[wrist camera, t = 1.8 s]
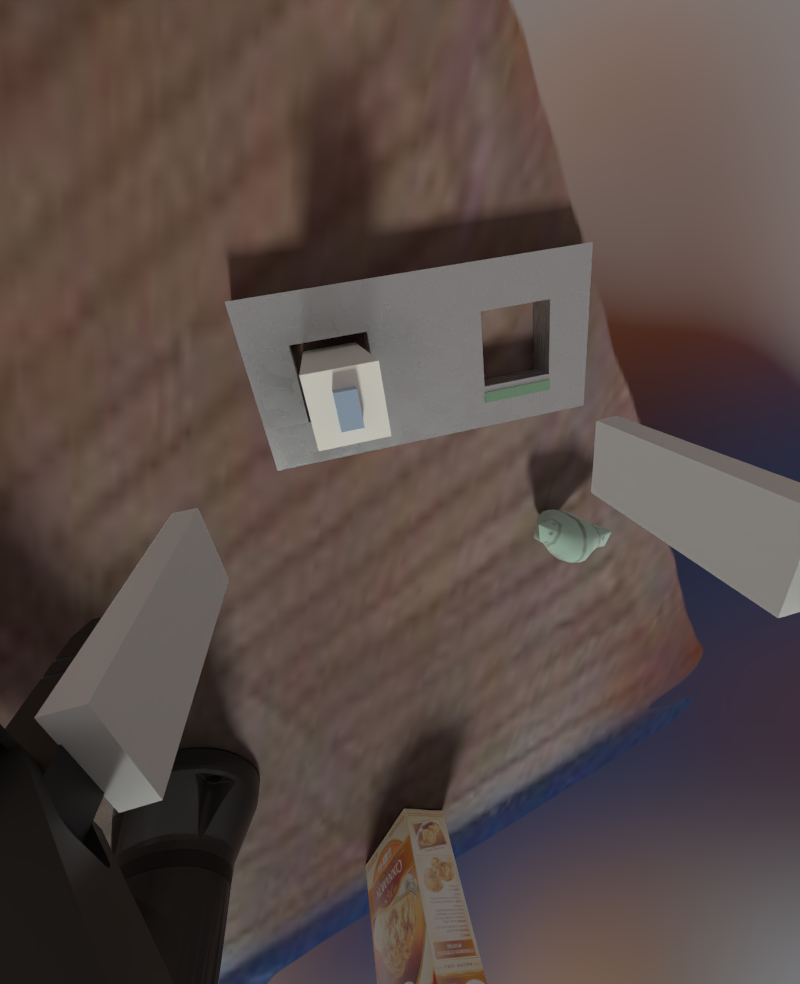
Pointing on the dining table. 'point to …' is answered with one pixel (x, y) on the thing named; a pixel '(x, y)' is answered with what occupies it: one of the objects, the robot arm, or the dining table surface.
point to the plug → (344, 395)
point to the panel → (422, 347)
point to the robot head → (569, 535)
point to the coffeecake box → (420, 906)
